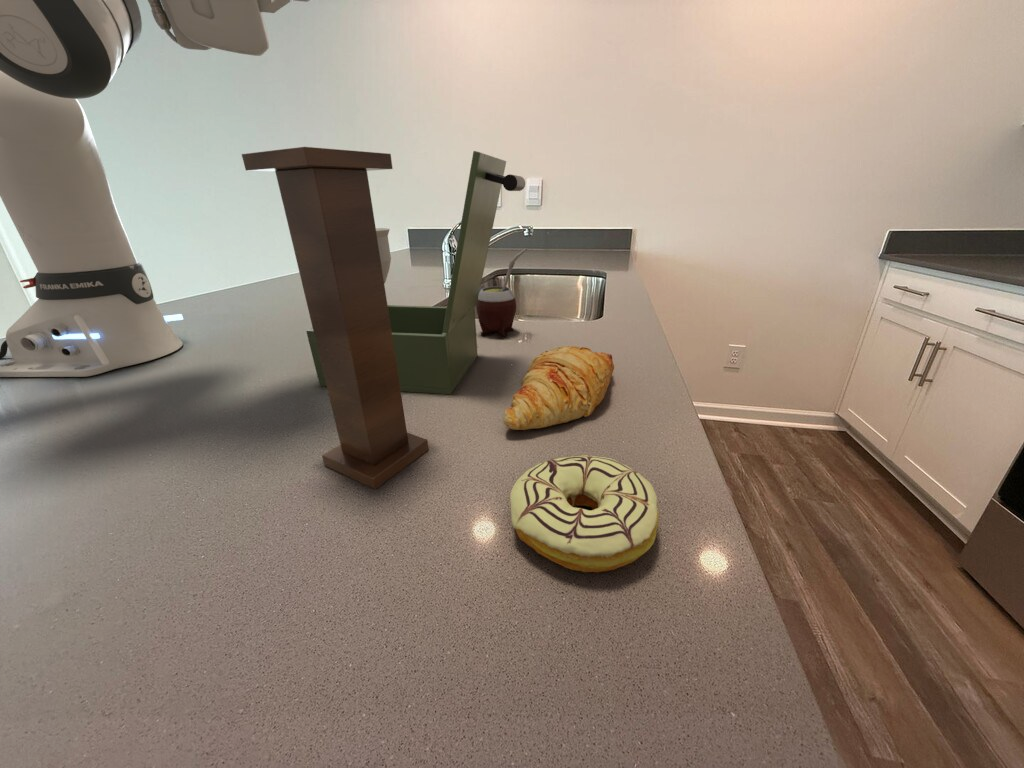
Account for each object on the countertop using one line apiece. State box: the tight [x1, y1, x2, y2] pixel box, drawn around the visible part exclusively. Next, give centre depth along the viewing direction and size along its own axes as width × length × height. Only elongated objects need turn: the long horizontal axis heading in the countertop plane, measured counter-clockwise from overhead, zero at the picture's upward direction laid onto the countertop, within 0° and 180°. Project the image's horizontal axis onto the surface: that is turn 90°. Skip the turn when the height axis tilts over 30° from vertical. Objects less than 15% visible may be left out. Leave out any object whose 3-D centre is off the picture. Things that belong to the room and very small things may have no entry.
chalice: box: [376, 227, 392, 284], centre depth 72 cm, size 7×7×18 cm
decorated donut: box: [509, 454, 660, 574], centre depth 30 cm, size 10×11×4 cm
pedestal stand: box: [241, 146, 430, 490], centre depth 34 cm, size 7×7×26 cm
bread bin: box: [306, 304, 478, 395], centre depth 58 cm, size 19×14×8 cm
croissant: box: [503, 345, 615, 431], centre depth 48 cm, size 21×10×8 cm, turn 141°
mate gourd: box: [475, 247, 528, 339], centre depth 71 cm, size 8×8×15 cm
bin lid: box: [443, 150, 526, 334], centre depth 50 cm, size 19×14×4 cm
